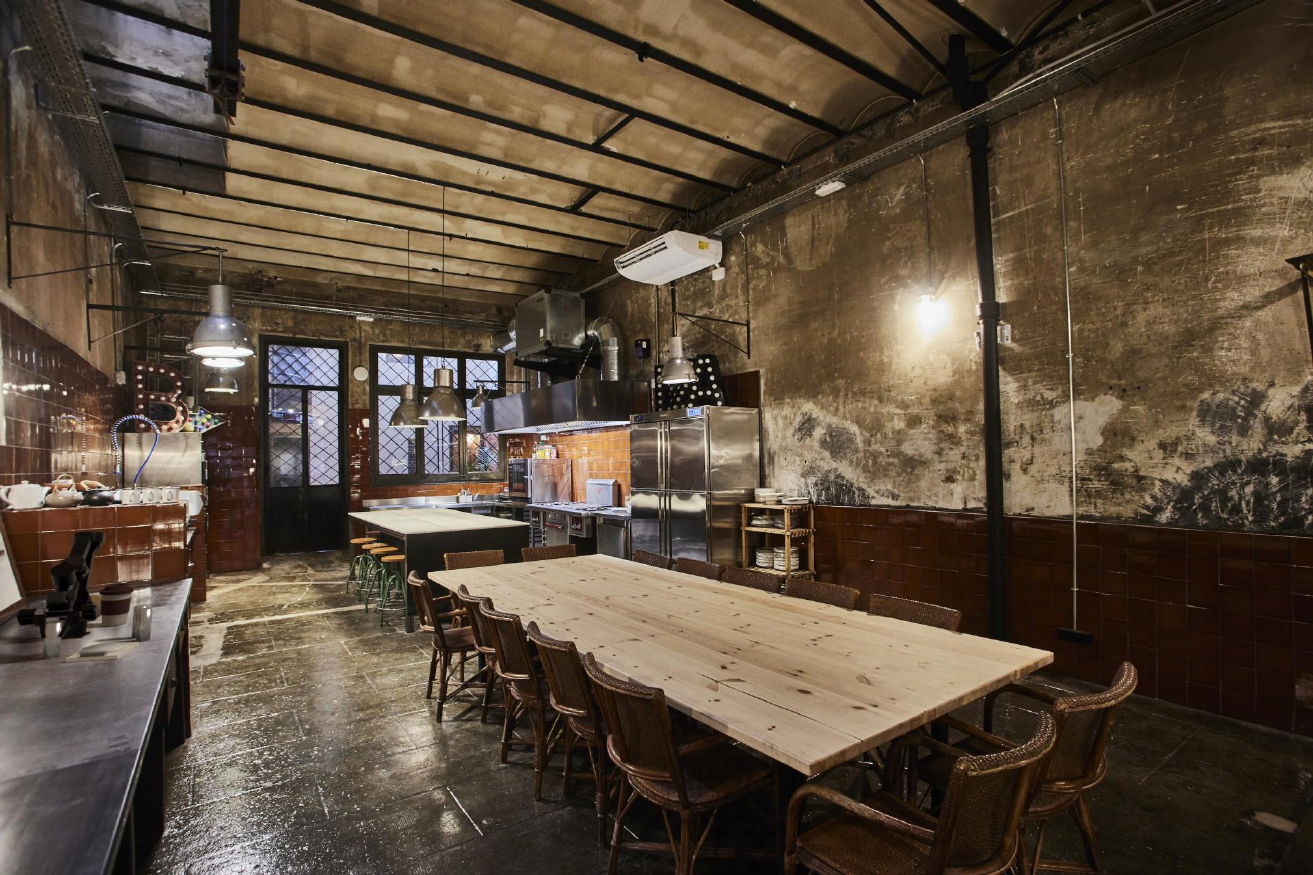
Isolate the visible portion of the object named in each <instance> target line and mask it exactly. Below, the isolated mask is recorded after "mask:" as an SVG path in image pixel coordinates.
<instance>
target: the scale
mask: <svg viewBox="0 0 1313 875" xmlns="http://www.w3.org/2000/svg"><path fill="white" fill-rule="evenodd" d="M140 643H141V642H136V641H135V642H134V641H132V642H117V641H116V642H115V641H114V642H105V643H97V644H90V645H89V646H85V647H83V648H81V650H79V651H77V652H75V653H72V654H71V655H70V656H68V657H66V658H65V660H64V663H65V662H66V663H77V662H80V663H81V662H91V661H90V660H97V661H110V660H111V659H113V660H118V659H120V658H122V657H123V656H125V655H126V654H128V653H130V652H131V651H133V650H134V649H136V648H138V647H139V646H140ZM135 647H136V648H135ZM132 649H133V650H132ZM124 654H125V655H124ZM117 658H118V659H117ZM109 659H110V660H109Z"/></svg>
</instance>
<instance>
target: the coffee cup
mask: <svg viewBox="0 0 1313 875" xmlns="http://www.w3.org/2000/svg"><path fill="white" fill-rule="evenodd" d="M134 589H135V588H134V587H132V586H130V584H129V583H112V584H106V585H105V586H104V588H102V589H100V590H99V592H98V595H101V625H102V627H118V626H122V625H125V624H127V623H128V616H129V612H130V608H131V603H132V602H131V601H132V593H133V592H134Z"/></svg>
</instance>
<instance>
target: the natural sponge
mask: <svg viewBox="0 0 1313 875" xmlns="http://www.w3.org/2000/svg"><path fill="white" fill-rule="evenodd" d="M89 595H90V597H91V599H92V601H93V604H96V605H97V608H98V617H97V619H99V618H100V617H102V615H101V595H100V594H89Z"/></svg>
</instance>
